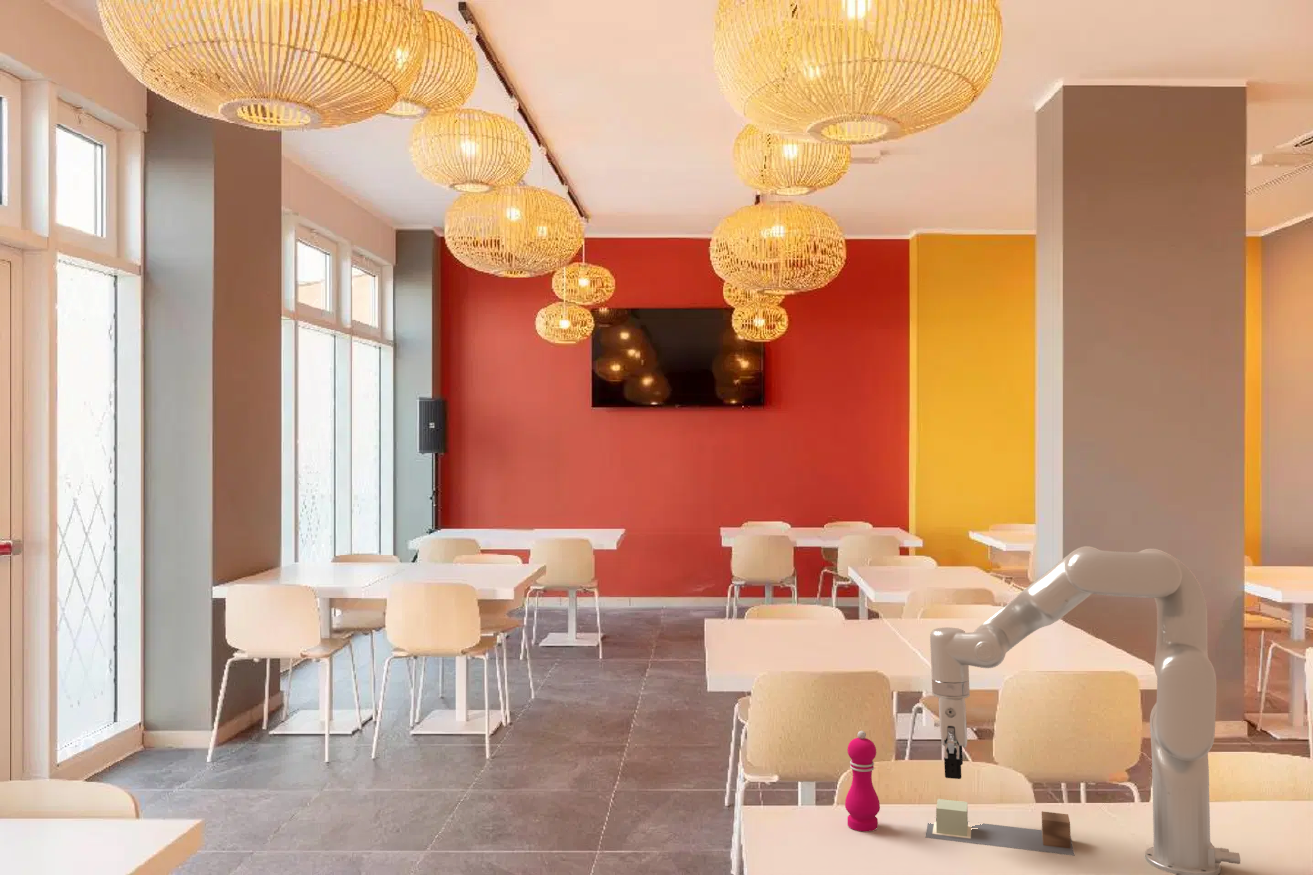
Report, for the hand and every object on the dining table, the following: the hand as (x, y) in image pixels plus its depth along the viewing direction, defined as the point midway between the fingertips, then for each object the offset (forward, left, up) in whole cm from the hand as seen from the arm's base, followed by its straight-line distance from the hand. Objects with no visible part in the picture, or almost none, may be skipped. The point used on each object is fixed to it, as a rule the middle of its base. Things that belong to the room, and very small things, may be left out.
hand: (954, 770), depth 197 cm
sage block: (+1, 0, -12) cm, 12 cm away
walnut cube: (-19, 0, -12) cm, 23 cm away
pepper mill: (+19, +3, -13) cm, 23 cm away
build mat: (-8, 0, -13) cm, 15 cm away
